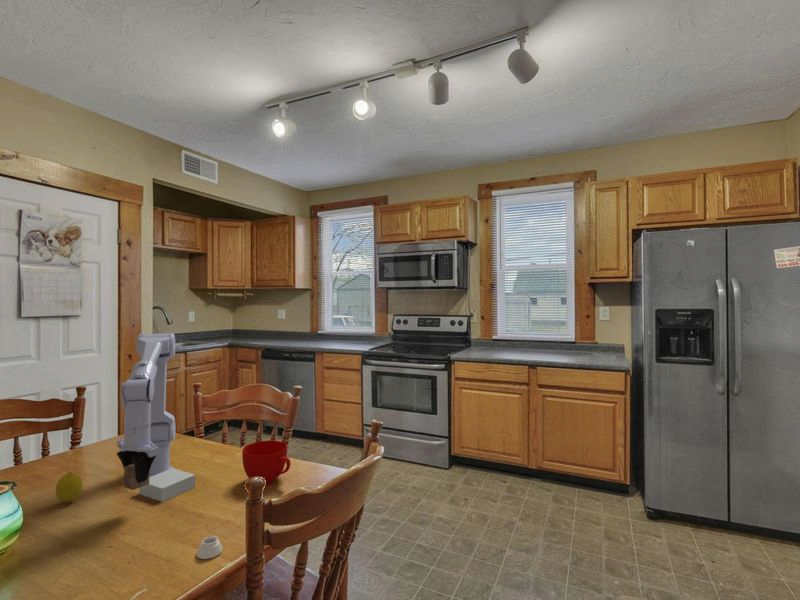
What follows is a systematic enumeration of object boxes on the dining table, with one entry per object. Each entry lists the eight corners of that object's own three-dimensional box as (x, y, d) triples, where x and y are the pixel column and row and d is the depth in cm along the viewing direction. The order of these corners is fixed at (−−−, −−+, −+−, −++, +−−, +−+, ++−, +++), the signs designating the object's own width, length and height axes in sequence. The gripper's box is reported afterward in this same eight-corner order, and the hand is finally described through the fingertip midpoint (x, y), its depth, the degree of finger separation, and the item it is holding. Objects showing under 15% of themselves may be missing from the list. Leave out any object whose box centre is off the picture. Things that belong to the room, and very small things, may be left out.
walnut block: (123, 486, 104) (124, 466, 104) (140, 480, 108) (140, 461, 108) (133, 490, 103) (133, 469, 103) (149, 483, 106) (149, 464, 106)
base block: (139, 495, 115) (139, 481, 115) (172, 481, 124) (172, 468, 124) (162, 503, 111) (162, 488, 111) (195, 488, 120) (195, 474, 120)
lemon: (87, 499, 112) (87, 470, 112) (64, 509, 106) (65, 478, 106) (73, 496, 113) (73, 467, 113) (50, 505, 108) (50, 475, 108)
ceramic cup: (271, 498, 114) (271, 461, 114) (232, 483, 123) (232, 449, 123) (305, 481, 125) (305, 447, 125) (267, 468, 134) (267, 437, 134)
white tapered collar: (212, 544, 92) (191, 555, 88) (213, 531, 92) (191, 542, 88) (227, 551, 90) (206, 563, 85) (227, 537, 90) (206, 549, 85)
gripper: (104, 426, 105) (103, 479, 105) (138, 435, 98) (137, 492, 98) (133, 419, 111) (132, 469, 111) (166, 427, 105) (165, 480, 105)
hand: (136, 479), depth 105 cm, fingers closed on walnut block, 4 cm apart
